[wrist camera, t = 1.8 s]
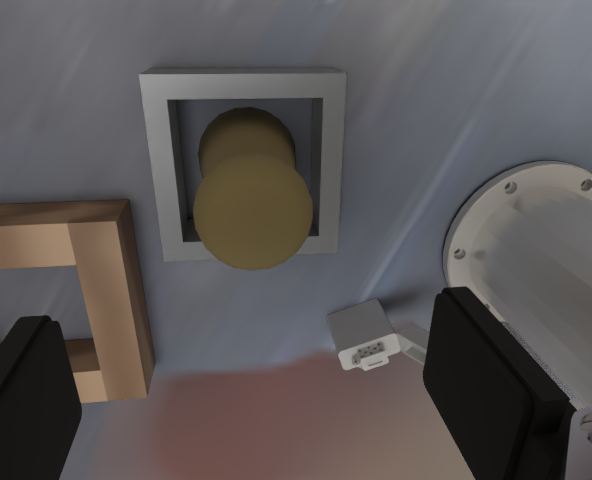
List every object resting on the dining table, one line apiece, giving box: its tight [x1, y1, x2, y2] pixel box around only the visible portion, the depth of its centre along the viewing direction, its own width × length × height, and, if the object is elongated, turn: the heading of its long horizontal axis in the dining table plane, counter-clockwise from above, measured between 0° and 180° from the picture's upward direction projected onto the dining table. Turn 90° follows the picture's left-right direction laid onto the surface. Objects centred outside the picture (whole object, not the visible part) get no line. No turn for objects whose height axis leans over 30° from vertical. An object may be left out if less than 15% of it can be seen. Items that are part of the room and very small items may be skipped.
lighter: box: [326, 298, 430, 371], centre depth 31 cm, size 7×2×8 cm, turn 108°
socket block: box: [0, 200, 155, 403], centre depth 29 cm, size 13×13×4 cm
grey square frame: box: [139, 68, 347, 262], centre depth 27 cm, size 10×10×4 cm
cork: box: [193, 107, 313, 270], centre depth 23 cm, size 6×6×11 cm
